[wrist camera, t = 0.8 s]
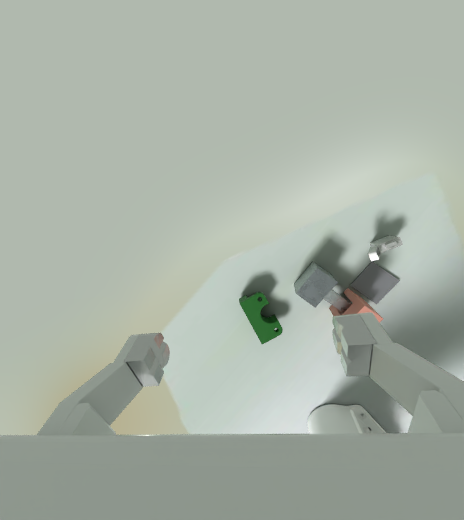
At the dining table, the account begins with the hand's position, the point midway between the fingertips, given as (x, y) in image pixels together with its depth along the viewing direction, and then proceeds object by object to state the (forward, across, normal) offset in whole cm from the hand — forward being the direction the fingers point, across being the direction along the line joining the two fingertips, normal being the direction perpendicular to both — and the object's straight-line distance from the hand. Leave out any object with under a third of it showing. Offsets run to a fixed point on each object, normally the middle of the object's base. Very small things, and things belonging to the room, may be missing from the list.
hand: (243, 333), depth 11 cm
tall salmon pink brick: (+35, +17, -31) cm, 50 cm away
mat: (+36, +23, -26) cm, 51 cm away
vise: (+36, +14, -28) cm, 48 cm away
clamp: (+37, -3, -31) cm, 48 cm away
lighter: (+39, +24, -19) cm, 50 cm away
